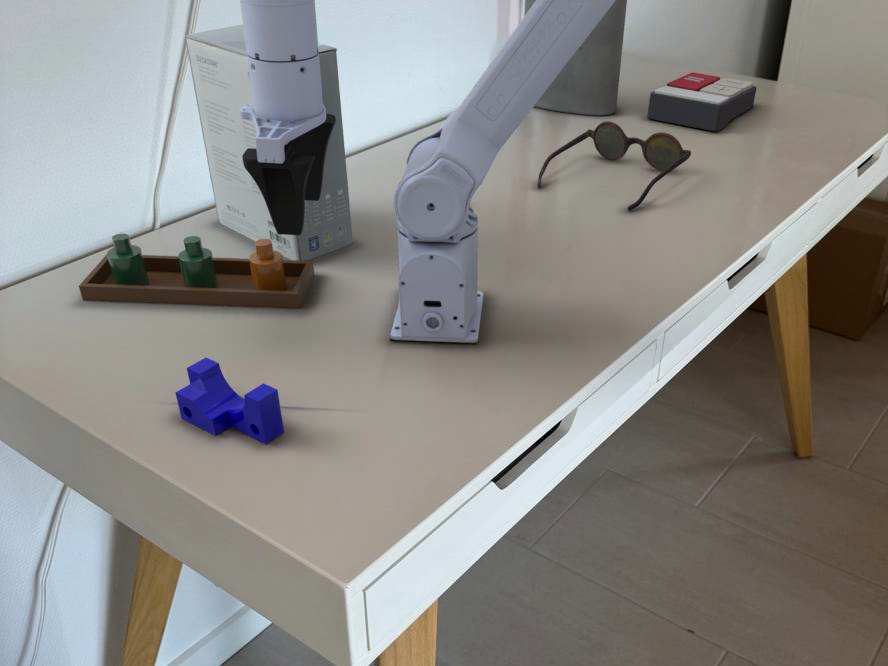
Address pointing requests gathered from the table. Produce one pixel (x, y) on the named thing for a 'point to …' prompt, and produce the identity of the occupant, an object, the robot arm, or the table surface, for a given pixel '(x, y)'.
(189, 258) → the green bottle
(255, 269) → the amber bottle
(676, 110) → the calculator
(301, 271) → the tray
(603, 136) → the eyeglasses
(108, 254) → the green bottle
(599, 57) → the flask
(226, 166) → the hard drive box
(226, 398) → the cable holder
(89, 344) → the table surface
